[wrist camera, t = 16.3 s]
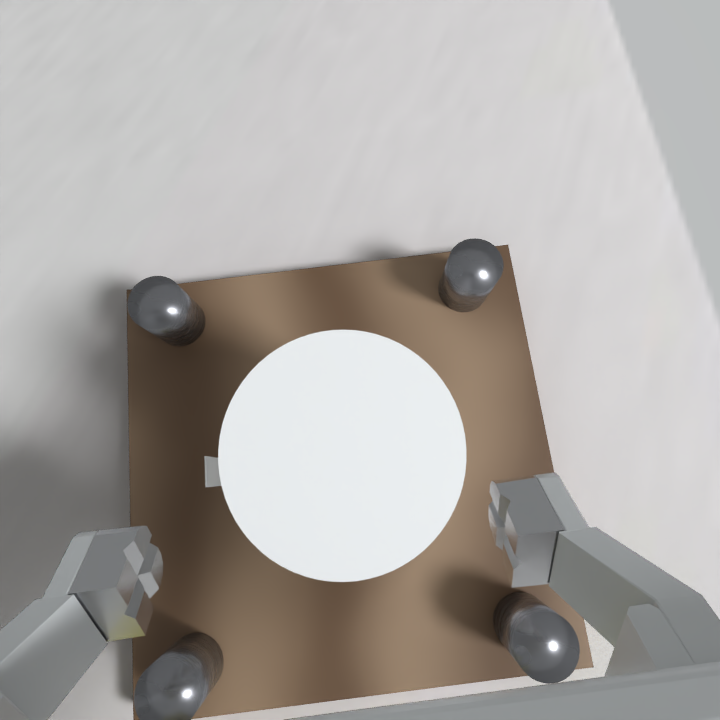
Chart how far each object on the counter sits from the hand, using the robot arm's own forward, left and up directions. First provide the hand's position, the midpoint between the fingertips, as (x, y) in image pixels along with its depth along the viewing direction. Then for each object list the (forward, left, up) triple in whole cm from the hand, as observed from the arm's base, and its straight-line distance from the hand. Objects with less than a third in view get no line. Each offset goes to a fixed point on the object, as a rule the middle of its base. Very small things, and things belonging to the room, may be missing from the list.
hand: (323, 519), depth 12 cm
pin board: (0, +1, -8) cm, 8 cm away
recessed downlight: (+1, +1, -7) cm, 7 cm away
